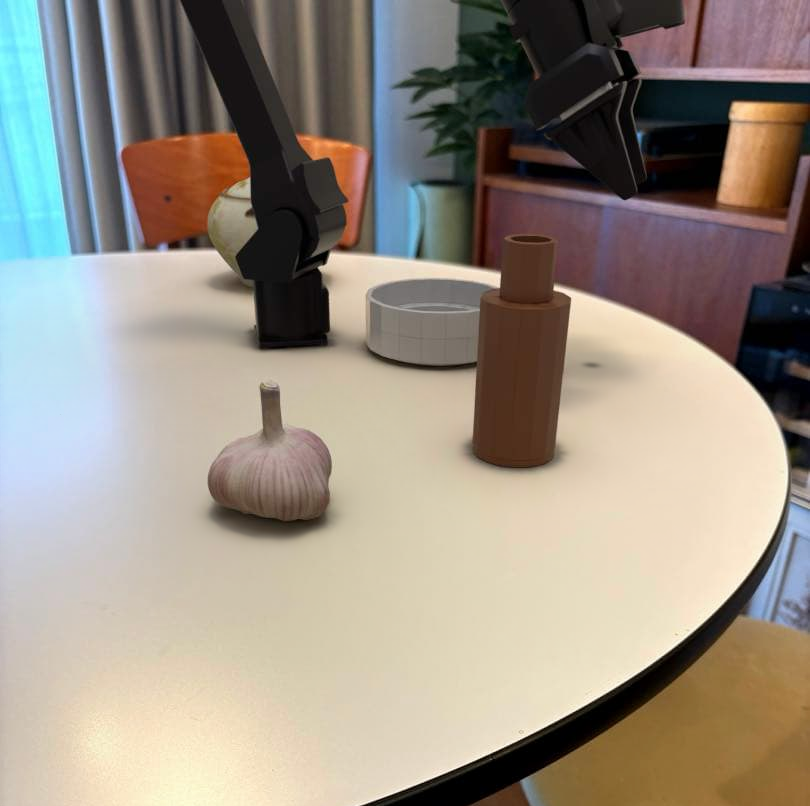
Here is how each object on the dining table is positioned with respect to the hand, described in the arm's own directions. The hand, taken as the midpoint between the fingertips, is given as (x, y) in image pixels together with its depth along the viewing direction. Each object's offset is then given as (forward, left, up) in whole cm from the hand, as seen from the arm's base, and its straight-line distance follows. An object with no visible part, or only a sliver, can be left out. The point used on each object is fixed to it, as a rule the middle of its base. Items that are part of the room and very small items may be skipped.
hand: (636, 189), depth 64 cm
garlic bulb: (-31, -19, -15) cm, 39 cm away
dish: (-13, +10, -15) cm, 22 cm away
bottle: (-14, -14, -15) cm, 25 cm away
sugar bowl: (-25, +40, -15) cm, 50 cm away
